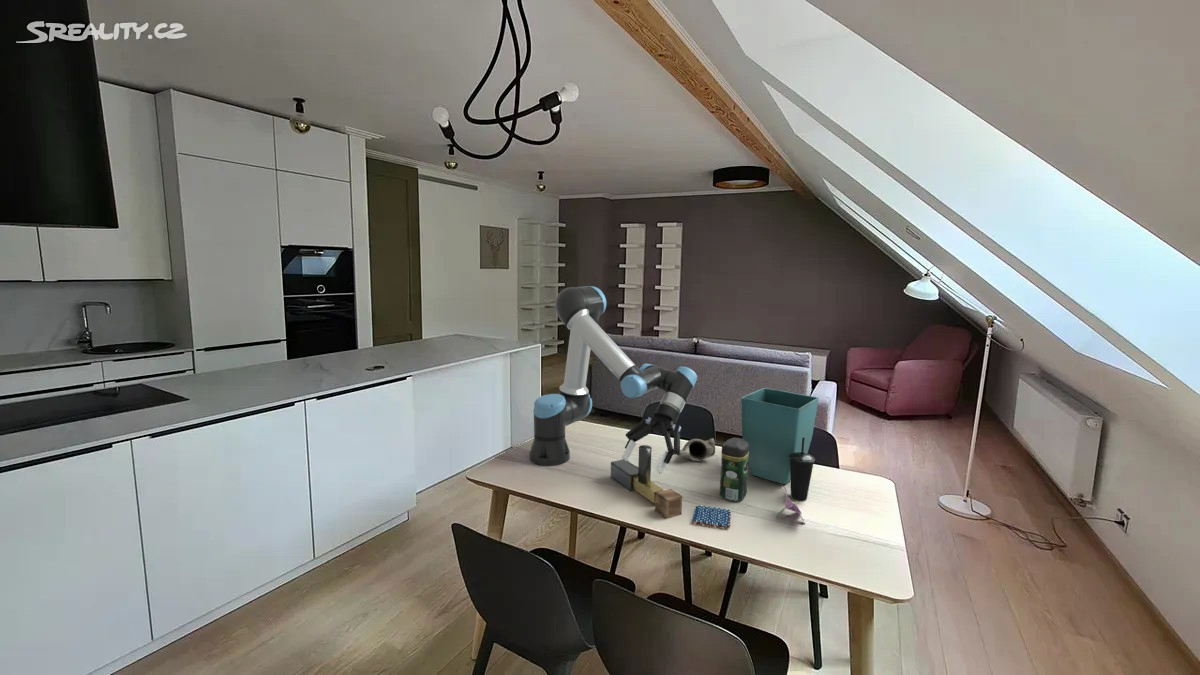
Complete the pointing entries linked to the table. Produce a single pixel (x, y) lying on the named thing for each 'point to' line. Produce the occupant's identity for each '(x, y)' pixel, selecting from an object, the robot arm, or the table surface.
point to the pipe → (698, 449)
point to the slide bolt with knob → (645, 475)
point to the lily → (791, 505)
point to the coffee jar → (734, 469)
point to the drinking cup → (800, 473)
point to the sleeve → (623, 473)
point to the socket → (668, 503)
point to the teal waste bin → (776, 430)
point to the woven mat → (711, 517)
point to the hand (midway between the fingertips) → (640, 465)
